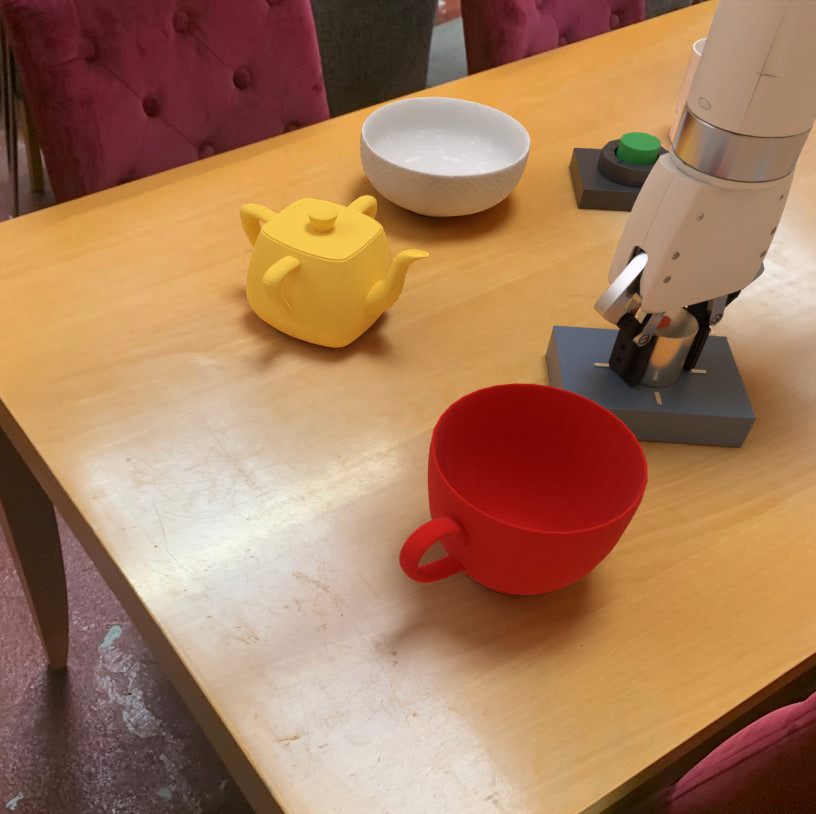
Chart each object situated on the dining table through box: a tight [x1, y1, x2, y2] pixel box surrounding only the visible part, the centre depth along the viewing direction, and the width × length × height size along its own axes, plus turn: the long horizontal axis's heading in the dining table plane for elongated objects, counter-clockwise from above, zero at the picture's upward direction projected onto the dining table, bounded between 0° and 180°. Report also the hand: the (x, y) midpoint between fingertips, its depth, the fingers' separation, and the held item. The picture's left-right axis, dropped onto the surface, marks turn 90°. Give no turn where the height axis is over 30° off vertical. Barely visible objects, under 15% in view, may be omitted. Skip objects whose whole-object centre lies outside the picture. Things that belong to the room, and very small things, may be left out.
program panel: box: [545, 325, 757, 448], centre depth 71 cm, size 14×10×3 cm
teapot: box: [239, 194, 430, 349], centre depth 75 cm, size 14×13×10 cm
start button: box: [616, 131, 662, 165], centre depth 91 cm, size 4×4×2 cm
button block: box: [568, 138, 670, 213], centre depth 93 cm, size 11×9×4 cm
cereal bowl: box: [359, 96, 532, 218], centre depth 90 cm, size 17×17×7 cm
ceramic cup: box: [398, 382, 649, 596], centre depth 56 cm, size 13×17×10 cm
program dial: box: [636, 308, 699, 387], centre depth 68 cm, size 4×4×5 cm
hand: (651, 365), depth 70 cm, fingers closed on program dial, 4 cm apart
